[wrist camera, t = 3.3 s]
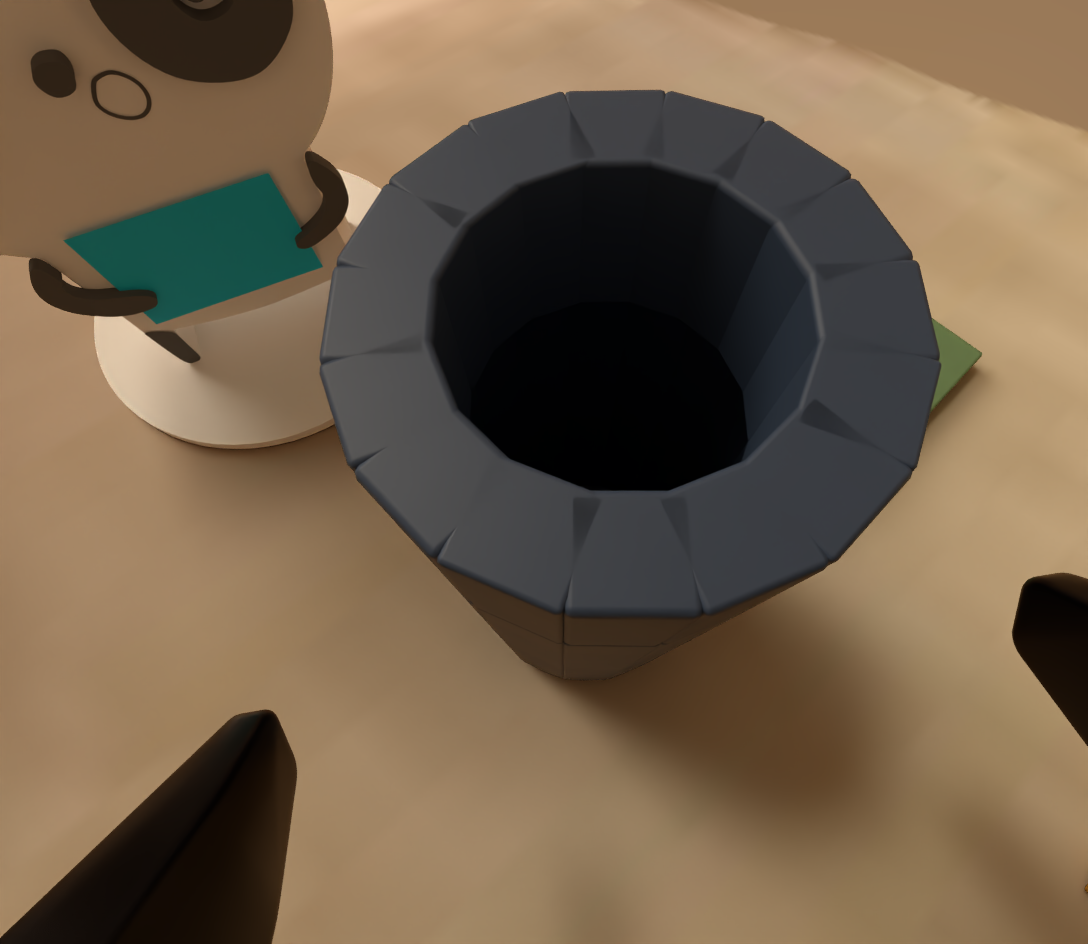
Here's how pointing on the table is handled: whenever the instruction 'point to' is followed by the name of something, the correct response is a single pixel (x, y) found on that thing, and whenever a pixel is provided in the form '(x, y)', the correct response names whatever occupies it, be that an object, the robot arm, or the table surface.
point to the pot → (627, 368)
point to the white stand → (181, 200)
